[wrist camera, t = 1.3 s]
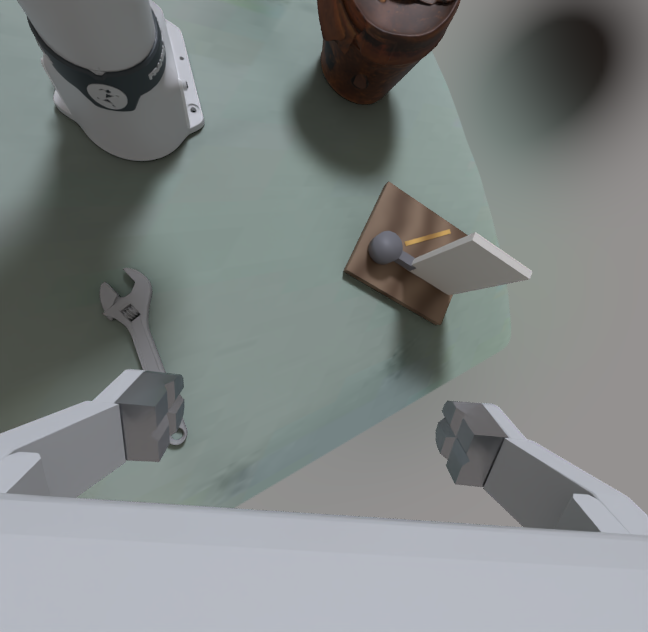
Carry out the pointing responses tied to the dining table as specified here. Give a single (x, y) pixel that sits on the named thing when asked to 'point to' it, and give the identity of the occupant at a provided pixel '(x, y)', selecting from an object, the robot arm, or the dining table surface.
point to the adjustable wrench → (136, 323)
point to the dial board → (417, 239)
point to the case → (378, 42)
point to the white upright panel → (453, 263)
